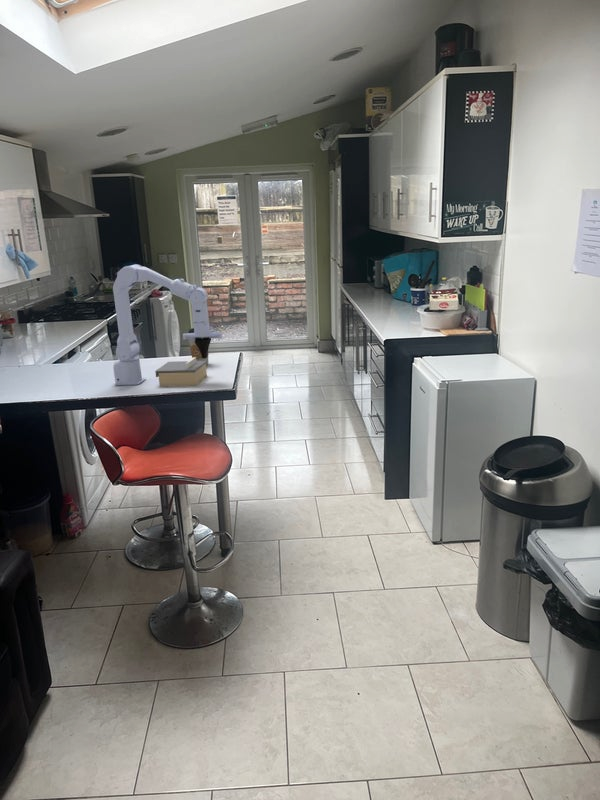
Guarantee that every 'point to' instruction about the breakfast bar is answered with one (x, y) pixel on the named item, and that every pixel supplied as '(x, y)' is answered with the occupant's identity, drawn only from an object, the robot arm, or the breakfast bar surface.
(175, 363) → the grey square slab
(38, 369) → the breakfast bar surface
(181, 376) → the storage box
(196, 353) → the coffee cup
